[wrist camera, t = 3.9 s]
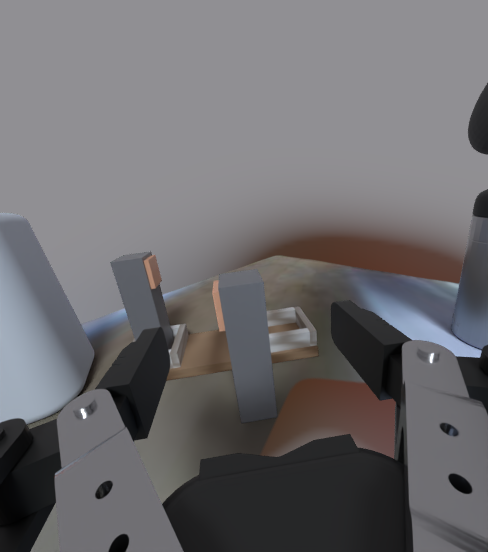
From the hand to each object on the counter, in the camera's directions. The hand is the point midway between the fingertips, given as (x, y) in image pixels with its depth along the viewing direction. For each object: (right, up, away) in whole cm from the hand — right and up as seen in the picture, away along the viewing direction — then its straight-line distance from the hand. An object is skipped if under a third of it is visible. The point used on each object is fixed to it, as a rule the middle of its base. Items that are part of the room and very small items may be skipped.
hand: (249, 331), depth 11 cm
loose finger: (+1, -13, +16) cm, 21 cm away
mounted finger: (-14, -10, +26) cm, 31 cm away
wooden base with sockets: (-4, -10, +26) cm, 28 cm away
